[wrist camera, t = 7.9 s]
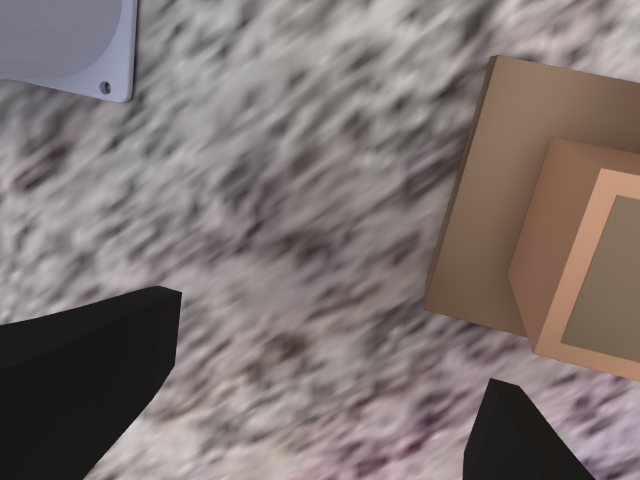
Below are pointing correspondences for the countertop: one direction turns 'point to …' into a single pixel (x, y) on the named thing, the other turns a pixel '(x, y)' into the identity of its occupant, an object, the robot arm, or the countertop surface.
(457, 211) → the walnut block
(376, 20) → the countertop surface
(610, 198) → the terracotta pot
